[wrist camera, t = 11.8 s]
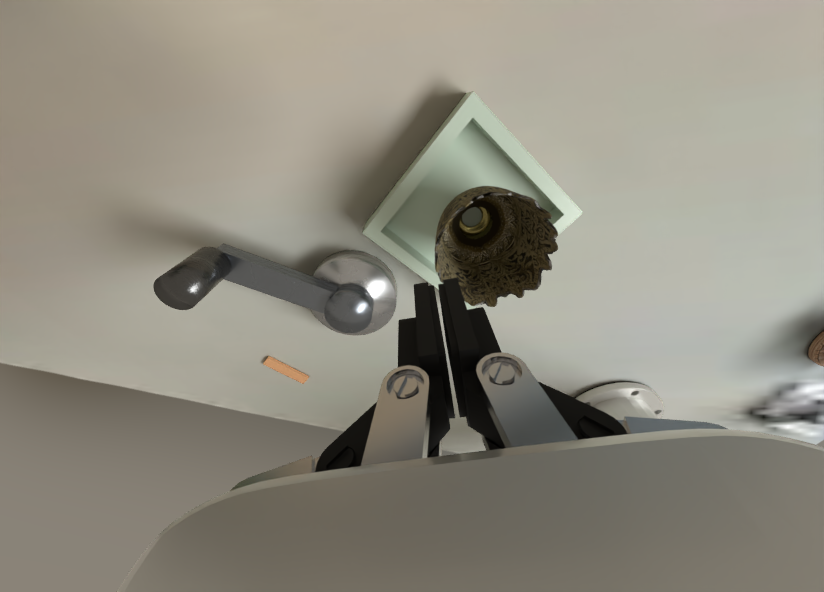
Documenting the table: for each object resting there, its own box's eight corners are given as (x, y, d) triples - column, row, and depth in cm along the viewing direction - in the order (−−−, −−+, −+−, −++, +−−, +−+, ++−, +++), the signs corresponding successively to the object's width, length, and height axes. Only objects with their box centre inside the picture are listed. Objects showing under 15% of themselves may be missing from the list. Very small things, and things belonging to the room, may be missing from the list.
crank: (380, 293, 27) (374, 335, 22) (364, 326, 29) (356, 372, 24) (207, 227, 23) (154, 260, 19) (201, 270, 25) (152, 309, 20)
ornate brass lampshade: (438, 267, 28) (449, 319, 21) (415, 185, 24) (420, 217, 17) (522, 244, 27) (562, 291, 20) (511, 155, 23) (556, 176, 16)
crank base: (342, 233, 26) (338, 241, 25) (413, 284, 29) (414, 295, 27) (297, 294, 30) (290, 305, 28) (365, 335, 32) (362, 347, 31)
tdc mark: (309, 376, 35) (308, 378, 35) (303, 381, 36) (303, 383, 36) (268, 355, 34) (267, 357, 33) (263, 362, 34) (262, 364, 34)
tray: (568, 204, 25) (583, 212, 23) (465, 298, 30) (470, 313, 28) (466, 92, 21) (473, 91, 19) (365, 222, 26) (362, 233, 24)
